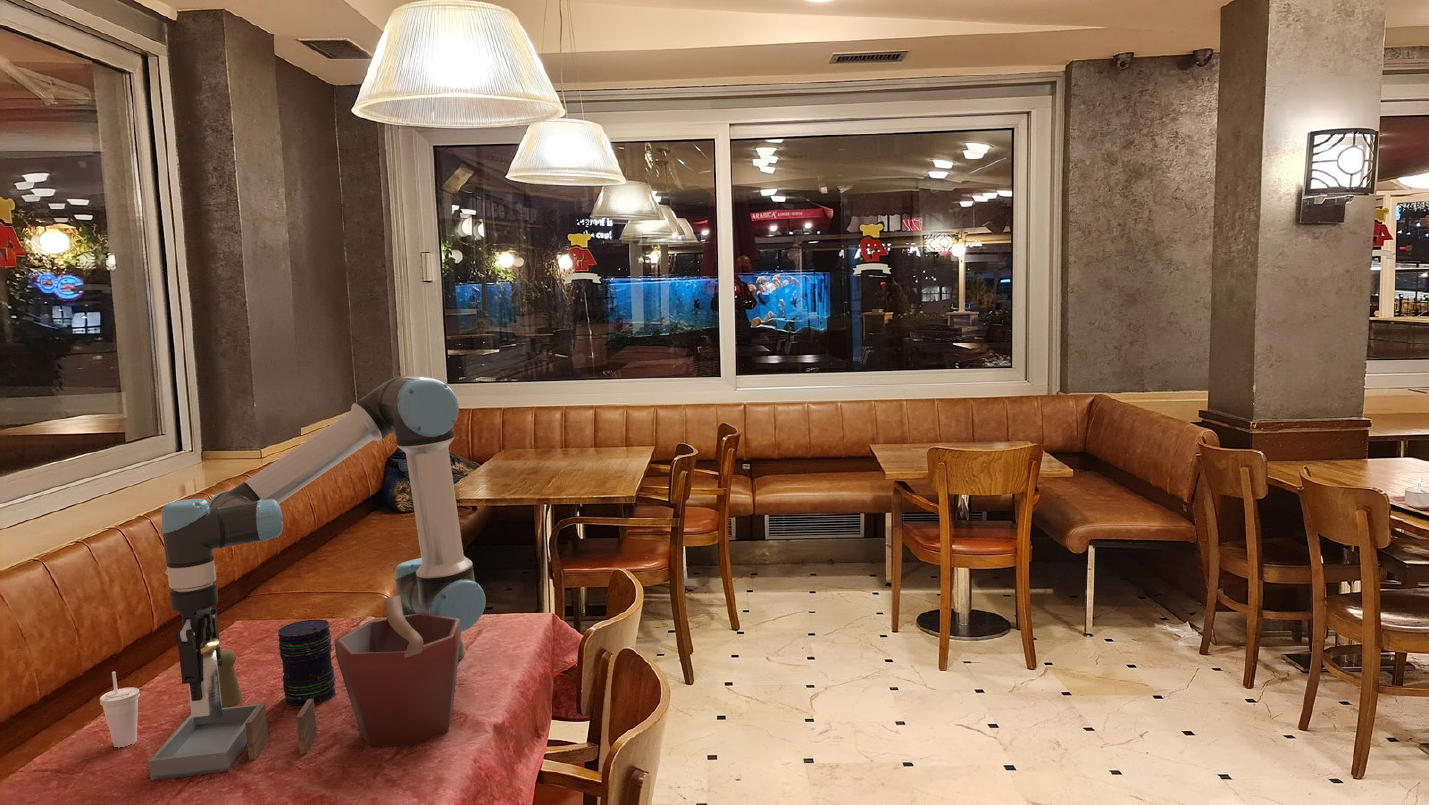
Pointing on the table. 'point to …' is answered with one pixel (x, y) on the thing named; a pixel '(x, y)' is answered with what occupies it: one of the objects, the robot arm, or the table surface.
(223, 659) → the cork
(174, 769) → the tray
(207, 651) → the silver metal cylinder
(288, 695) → the storage jar
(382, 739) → the bucket
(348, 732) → the table surface
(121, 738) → the smoothie
